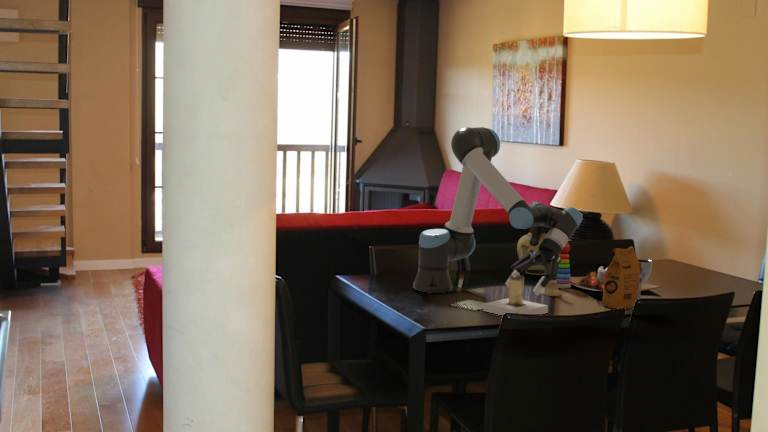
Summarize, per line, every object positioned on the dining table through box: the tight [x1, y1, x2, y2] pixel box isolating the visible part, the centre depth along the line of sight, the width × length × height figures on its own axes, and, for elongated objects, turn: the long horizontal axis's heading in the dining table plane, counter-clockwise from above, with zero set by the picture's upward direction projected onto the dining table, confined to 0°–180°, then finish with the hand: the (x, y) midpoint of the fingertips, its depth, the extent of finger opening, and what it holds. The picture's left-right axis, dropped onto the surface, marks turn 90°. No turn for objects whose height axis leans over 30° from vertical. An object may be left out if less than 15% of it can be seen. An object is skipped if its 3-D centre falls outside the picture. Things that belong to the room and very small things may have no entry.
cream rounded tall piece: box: [516, 226, 547, 276], centre depth 384 cm, size 18×17×30 cm
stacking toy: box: [556, 242, 572, 290], centre depth 354 cm, size 8×8×19 cm
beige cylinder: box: [508, 275, 525, 307], centre depth 306 cm, size 5×5×13 cm
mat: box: [457, 299, 485, 310], centre depth 315 cm, size 12×12×1 cm
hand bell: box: [539, 261, 562, 297], centre depth 340 cm, size 8×8×16 cm
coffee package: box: [601, 245, 640, 310], centre depth 321 cm, size 10×12×22 cm
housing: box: [482, 297, 549, 316], centre depth 307 cm, size 16×16×3 cm
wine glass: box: [638, 258, 653, 298], centre depth 336 cm, size 8×8×15 cm
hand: (521, 289), depth 306 cm, fingers open, 13 cm apart
